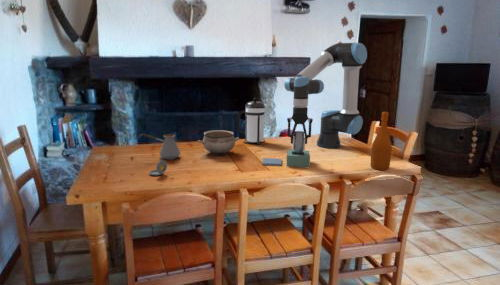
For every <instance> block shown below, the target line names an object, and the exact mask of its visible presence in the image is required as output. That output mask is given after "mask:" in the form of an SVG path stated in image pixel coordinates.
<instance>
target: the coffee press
mask: <svg viewBox="0 0 500 285" xmlns="http://www.w3.org/2000/svg"><path fill="white" fill-rule="evenodd" d="M257 100H258V98H257V97H254V98H253V100H252V101H248V102H246V104H245V106H244V107H245V110H240V111H239V112H238V113H237V116H236V117H237V118H236V129H237V131H238V132H237V133H239V134H240V135H244V136H245V138H244V141H243V144H244V145H246V144H248V143H256V144H257V146H260V145H261V142H262V143H265V141H266V140H265V138H264V135H265V132H264V131H265V130H264V129H265V114H266V113H265V112H266V111H267V108H266V105H265V104H264V102H262V101H257ZM242 114H245V131H242V130H241V116H242Z"/></svg>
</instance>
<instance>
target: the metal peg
mask: <svg viewBox="0 0 500 285" xmlns="http://www.w3.org/2000/svg"><path fill="white" fill-rule="evenodd" d="M293 137H294V155H303V151H304V150H303V143H304V137H305V134H304V130H295V133H294V136H293Z"/></svg>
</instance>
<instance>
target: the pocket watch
mask: <svg viewBox="0 0 500 285" xmlns="http://www.w3.org/2000/svg"><path fill="white" fill-rule="evenodd" d="M162 156H163V155H162ZM159 159H160V160H159V161H158V162H157V163H156V164H157V165H156V168H155V169H156V170H155V169H154V170H151V171H150V172H149V175H151V176H154V177H155V176H161V175H164V174H165V172H166V171H167V168H168V163H167V161H166V160H165V159H164V158H163V157H161V156H159Z"/></svg>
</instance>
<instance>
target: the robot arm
mask: <svg viewBox="0 0 500 285" xmlns="http://www.w3.org/2000/svg"><path fill="white" fill-rule="evenodd" d="M367 59H368V51H367V48H366V46H365V45H364V44H363V43H361V42H337V43H334V44H333V45H330V46H329V47H327V48H326V49H324V50H322V52H321V53H320V55H319V56H318V57H317V58H316V59H315V60H313V61H312V62H311V63H309V65H307V66H306V67H305V68H304V69H302V70H301V71H299V73H297V74H296V75H295V76H294V77H287V78H286V79H285V81H284V84H283V86H284V89H285V91H287V92H292V93H293V99H292V100H293V102H292V103H293V104H292V106H293V107H292V116H291V117H287V118H286V121H287V137H288V138H290V144H292V150H294V134H295V131H297V126H298V125H302V129H303V130H302V131H303V132H304V143H303V151H306V150H305V149H306V148H305V146H306V145H307V144H308V139H309V138H311V137H312V124H313V122H314V121H313V118H310V117H309V115H308V106H309V95H318V94H321V93H323V91H324V87H325V84H324V81H322V80H321V79H317V78H316V77H317V76H318V75H319V74H320V73H321V72H323V71H324V70H325V69H326V68H327V67H331V66H332V65H334V64H339V63H340V64H341V67H342V68H343V70H344V71H343V86H342V88H343V89H342V109H341V110H339V109H338V110H337V109H335V110H333V109H332V110H331V109H330V110H324V111H322V113H321V115H320V130H319V131H320V132H319V136H318V137H317V140H316V146H318V147H320V148H325V149H337V148H340V147H341V139H340V136H339V135H340V134H339V133H343V134H348V135H356V134H358V133H359V132H360V130H361V129H362V127H363V123H364V119H363V117H362V116H361V115H360V111H359V110H358V98H359V96H358V95H359V80H360V79H359V78H360V77H359V76H360V69H361V68H362V67H363V64H365V63H366V60H367ZM315 78H316V79H315ZM292 121H293V122H294V125H293V127H292V132H291V122H292ZM306 122H308V133H307V129H306V125H305V124H306Z"/></svg>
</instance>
